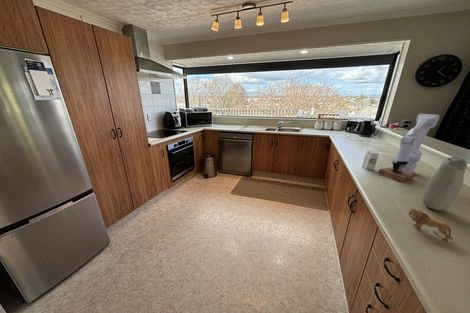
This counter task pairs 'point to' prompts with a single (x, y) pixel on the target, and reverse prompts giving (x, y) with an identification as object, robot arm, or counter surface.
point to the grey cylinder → (399, 169)
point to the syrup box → (370, 160)
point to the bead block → (399, 177)
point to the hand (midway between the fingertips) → (396, 170)
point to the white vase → (445, 184)
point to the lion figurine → (429, 223)
